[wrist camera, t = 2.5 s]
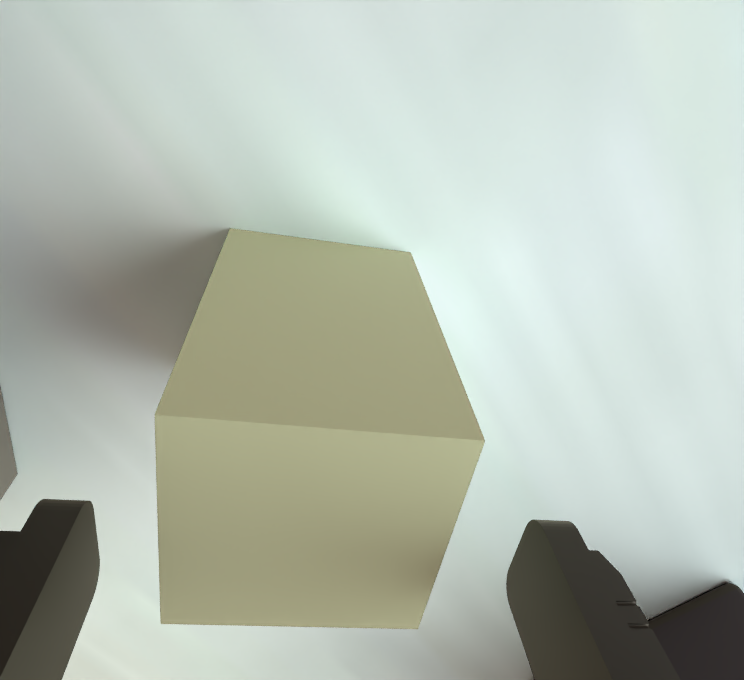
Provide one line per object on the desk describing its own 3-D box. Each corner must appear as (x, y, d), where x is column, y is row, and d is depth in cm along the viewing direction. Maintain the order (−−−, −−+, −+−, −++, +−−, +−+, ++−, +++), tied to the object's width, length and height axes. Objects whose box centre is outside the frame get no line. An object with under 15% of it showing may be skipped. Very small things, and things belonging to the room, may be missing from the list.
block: (230, 227, 15) (154, 415, 8) (410, 252, 16) (485, 441, 9) (222, 380, 17) (160, 623, 10) (379, 394, 18) (417, 629, 11)
